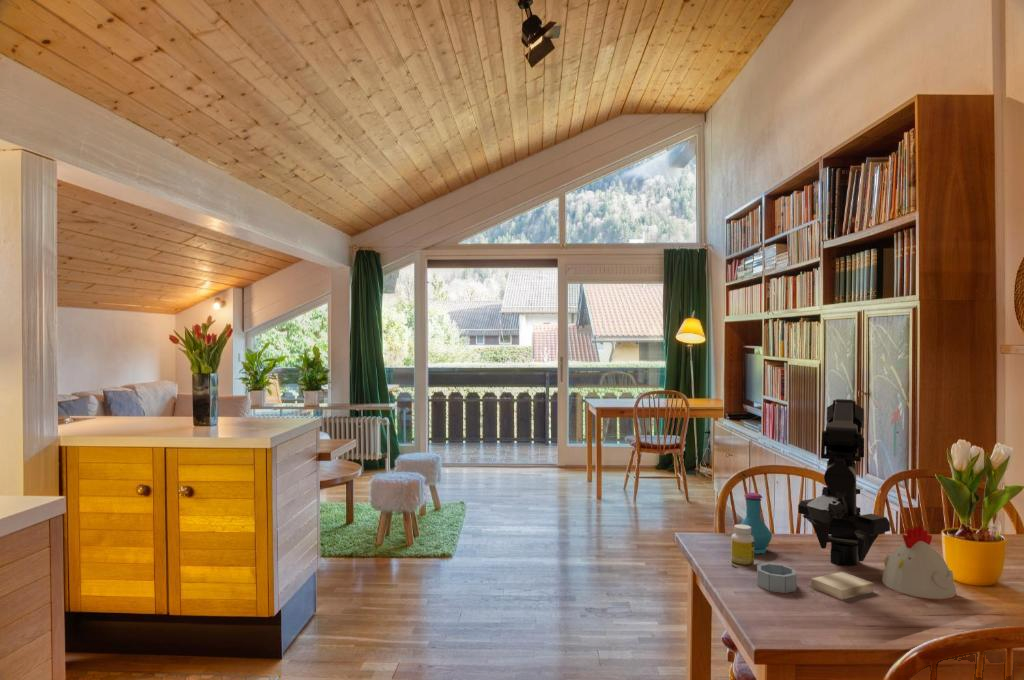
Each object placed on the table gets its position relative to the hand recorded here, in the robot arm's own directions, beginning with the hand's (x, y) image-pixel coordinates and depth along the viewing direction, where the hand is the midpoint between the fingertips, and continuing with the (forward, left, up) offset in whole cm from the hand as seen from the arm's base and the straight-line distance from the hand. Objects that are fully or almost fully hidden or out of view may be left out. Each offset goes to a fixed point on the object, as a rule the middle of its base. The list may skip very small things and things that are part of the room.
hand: (841, 554), depth 139 cm
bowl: (+11, -8, -9) cm, 16 cm away
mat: (0, 0, -9) cm, 9 cm away
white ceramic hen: (-17, +6, -10) cm, 20 cm away
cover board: (0, 0, -8) cm, 8 cm away
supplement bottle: (+5, -24, -10) cm, 26 cm away
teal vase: (-7, -32, -9) cm, 34 cm away
